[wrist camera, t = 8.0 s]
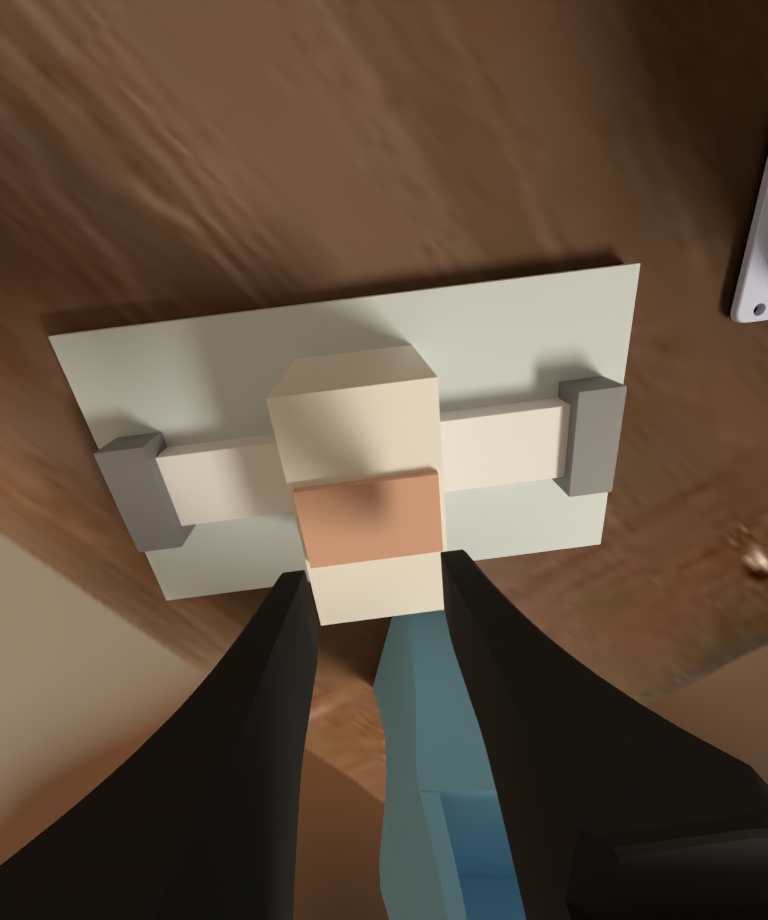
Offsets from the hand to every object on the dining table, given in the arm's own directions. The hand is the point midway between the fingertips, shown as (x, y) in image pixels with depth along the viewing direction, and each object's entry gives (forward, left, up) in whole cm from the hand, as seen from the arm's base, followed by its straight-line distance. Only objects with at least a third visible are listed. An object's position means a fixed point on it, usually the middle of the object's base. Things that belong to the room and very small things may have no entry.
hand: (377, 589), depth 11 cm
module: (0, 0, -9) cm, 9 cm away
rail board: (0, 0, -10) cm, 10 cm away
